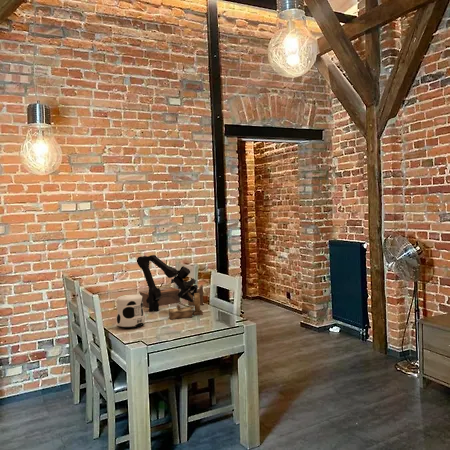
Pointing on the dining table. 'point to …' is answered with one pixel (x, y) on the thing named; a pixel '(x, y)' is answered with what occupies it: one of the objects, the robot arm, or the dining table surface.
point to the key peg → (197, 302)
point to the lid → (180, 309)
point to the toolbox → (183, 314)
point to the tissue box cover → (163, 296)
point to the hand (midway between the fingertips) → (196, 300)
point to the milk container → (130, 311)
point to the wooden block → (200, 291)
